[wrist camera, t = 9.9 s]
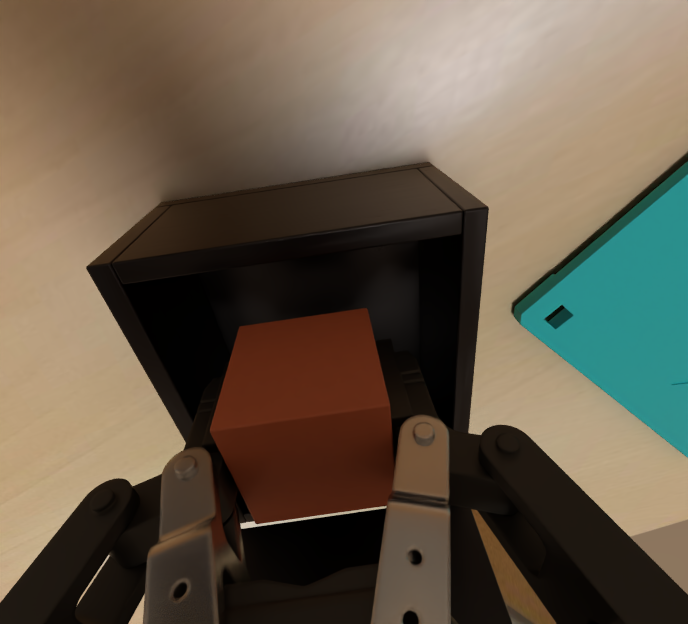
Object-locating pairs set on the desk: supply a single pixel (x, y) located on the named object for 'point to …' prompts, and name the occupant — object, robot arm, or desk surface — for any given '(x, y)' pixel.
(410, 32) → the desk surface
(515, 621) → the sandwich container
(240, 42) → the desk surface
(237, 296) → the dark brown box
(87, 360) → the desk surface
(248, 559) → the lid
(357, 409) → the block
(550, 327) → the diskette
